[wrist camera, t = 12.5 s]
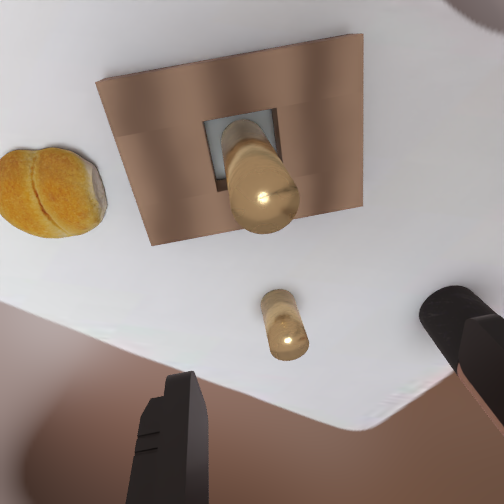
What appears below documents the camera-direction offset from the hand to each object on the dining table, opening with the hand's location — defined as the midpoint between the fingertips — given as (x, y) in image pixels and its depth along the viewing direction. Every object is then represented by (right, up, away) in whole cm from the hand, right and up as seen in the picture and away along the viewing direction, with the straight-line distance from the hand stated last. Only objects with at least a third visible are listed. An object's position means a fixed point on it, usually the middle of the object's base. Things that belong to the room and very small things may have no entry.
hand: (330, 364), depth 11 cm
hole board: (-3, +13, +22) cm, 26 cm away
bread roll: (-20, +9, +23) cm, 32 cm away
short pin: (+1, -3, +32) cm, 32 cm away
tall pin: (-3, +13, +22) cm, 26 cm away
